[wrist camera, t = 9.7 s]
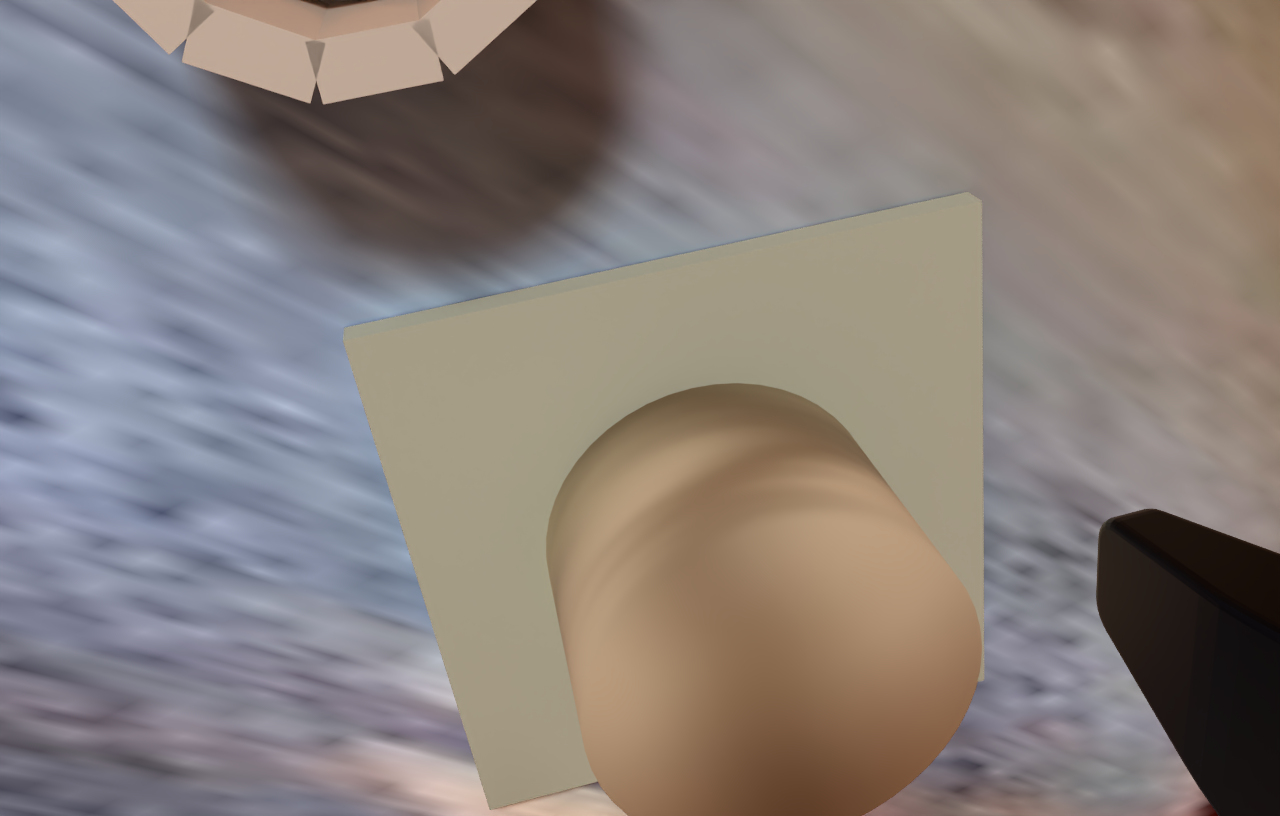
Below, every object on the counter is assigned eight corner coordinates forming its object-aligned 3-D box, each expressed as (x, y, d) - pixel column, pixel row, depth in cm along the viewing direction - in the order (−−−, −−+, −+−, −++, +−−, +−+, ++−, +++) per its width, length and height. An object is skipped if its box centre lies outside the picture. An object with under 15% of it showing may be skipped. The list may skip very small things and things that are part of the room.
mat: (967, 191, 21) (981, 201, 21) (972, 663, 27) (984, 680, 27) (344, 328, 20) (343, 341, 20) (488, 790, 26) (490, 809, 26)
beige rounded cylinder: (864, 348, 22) (981, 477, 18) (881, 623, 25) (982, 790, 21) (514, 429, 21) (543, 584, 17) (579, 700, 25) (618, 889, 20)
